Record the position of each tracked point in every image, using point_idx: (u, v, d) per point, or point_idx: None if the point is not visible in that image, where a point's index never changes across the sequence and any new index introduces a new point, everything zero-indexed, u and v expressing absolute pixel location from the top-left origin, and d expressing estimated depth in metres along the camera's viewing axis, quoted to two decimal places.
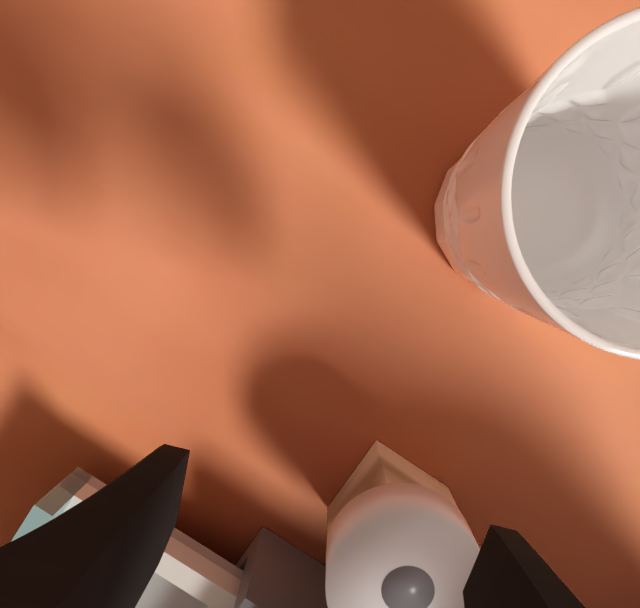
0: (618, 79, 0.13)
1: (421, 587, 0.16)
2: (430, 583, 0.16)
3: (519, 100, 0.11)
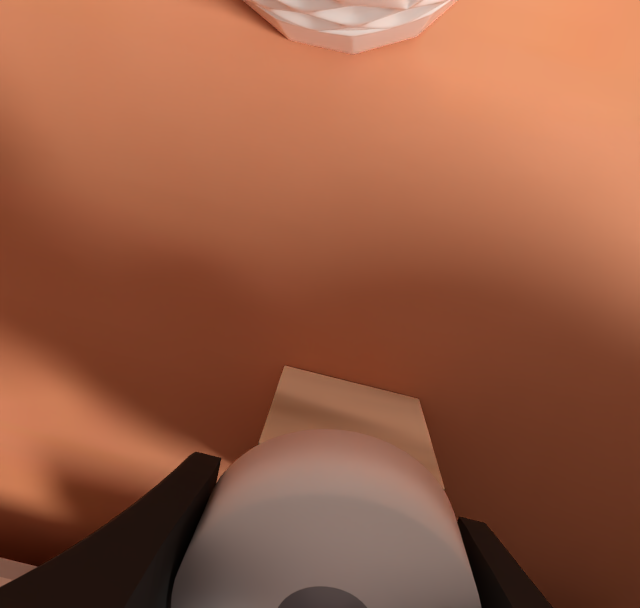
0: None
1: None
2: (362, 604, 0.08)
3: None
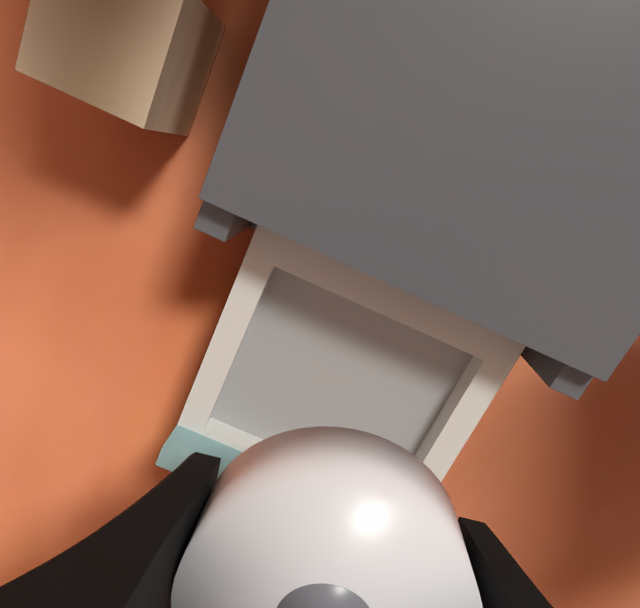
0: None
1: None
2: (362, 601, 0.08)
3: None
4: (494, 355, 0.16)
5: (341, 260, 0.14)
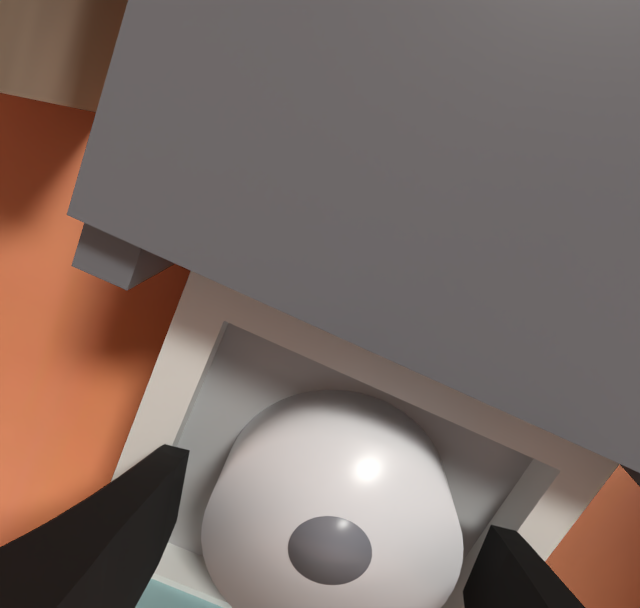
0: None
1: (347, 541, 0.10)
2: (361, 532, 0.10)
3: None
4: (578, 464, 0.10)
5: (332, 330, 0.07)
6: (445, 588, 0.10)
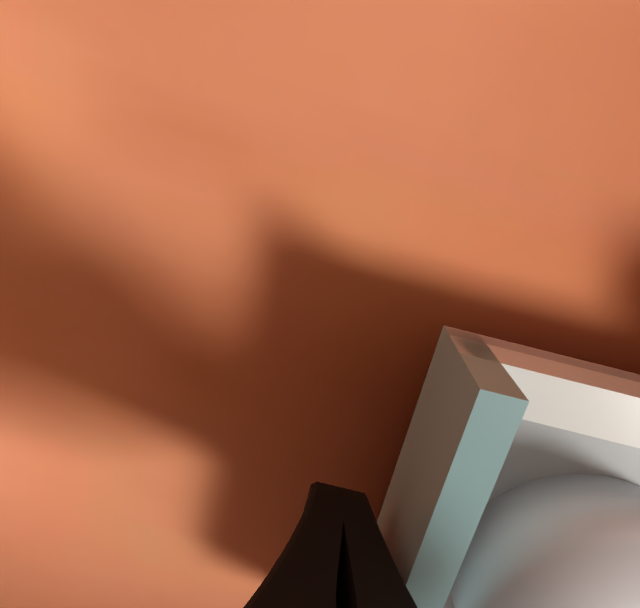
0: None
1: None
2: None
3: None
4: None
5: None
6: None
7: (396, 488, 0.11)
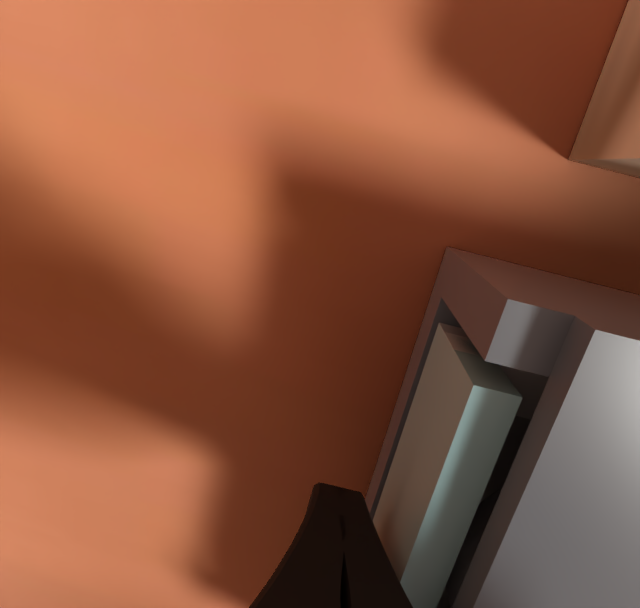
0: None
1: None
2: None
3: None
4: None
5: (488, 582, 0.08)
6: None
7: (392, 485, 0.11)
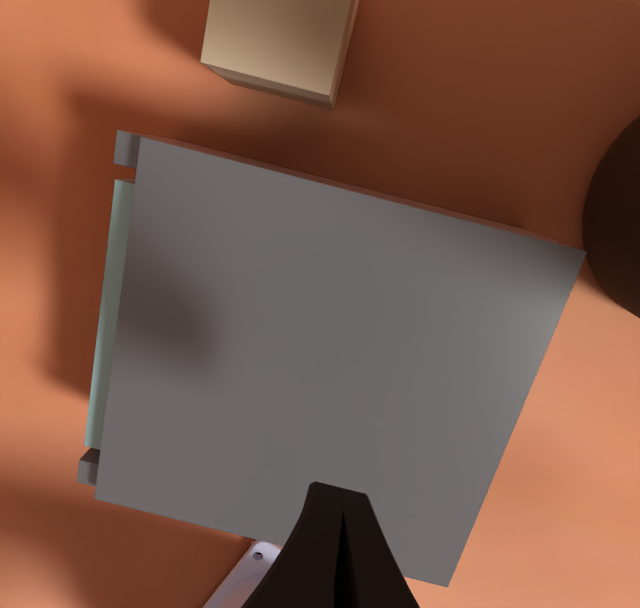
0: None
1: None
2: None
3: None
4: None
5: (124, 278, 0.15)
6: None
7: None
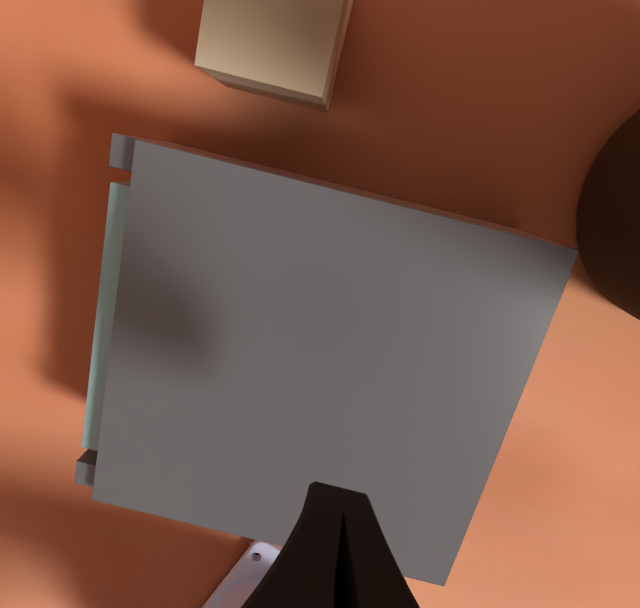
0: None
1: None
2: None
3: None
4: None
5: (120, 280, 0.15)
6: None
7: None
